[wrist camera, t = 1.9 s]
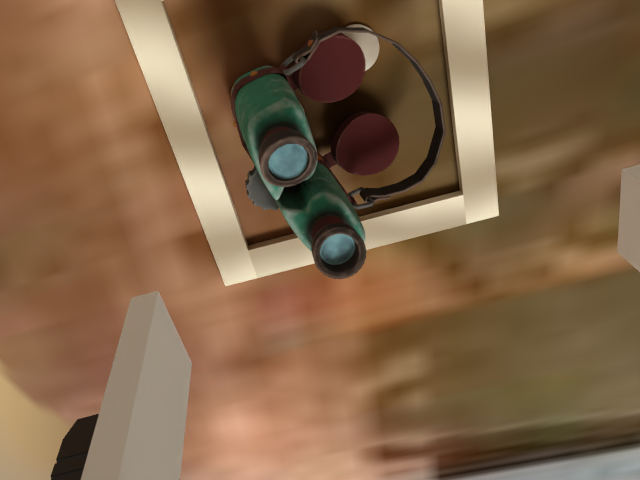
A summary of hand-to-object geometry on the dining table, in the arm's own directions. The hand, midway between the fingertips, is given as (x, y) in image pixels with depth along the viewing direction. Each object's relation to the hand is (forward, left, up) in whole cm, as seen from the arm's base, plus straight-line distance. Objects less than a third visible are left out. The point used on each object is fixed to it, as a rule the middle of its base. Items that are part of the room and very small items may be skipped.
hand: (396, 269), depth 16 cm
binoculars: (0, 0, -17) cm, 17 cm away
